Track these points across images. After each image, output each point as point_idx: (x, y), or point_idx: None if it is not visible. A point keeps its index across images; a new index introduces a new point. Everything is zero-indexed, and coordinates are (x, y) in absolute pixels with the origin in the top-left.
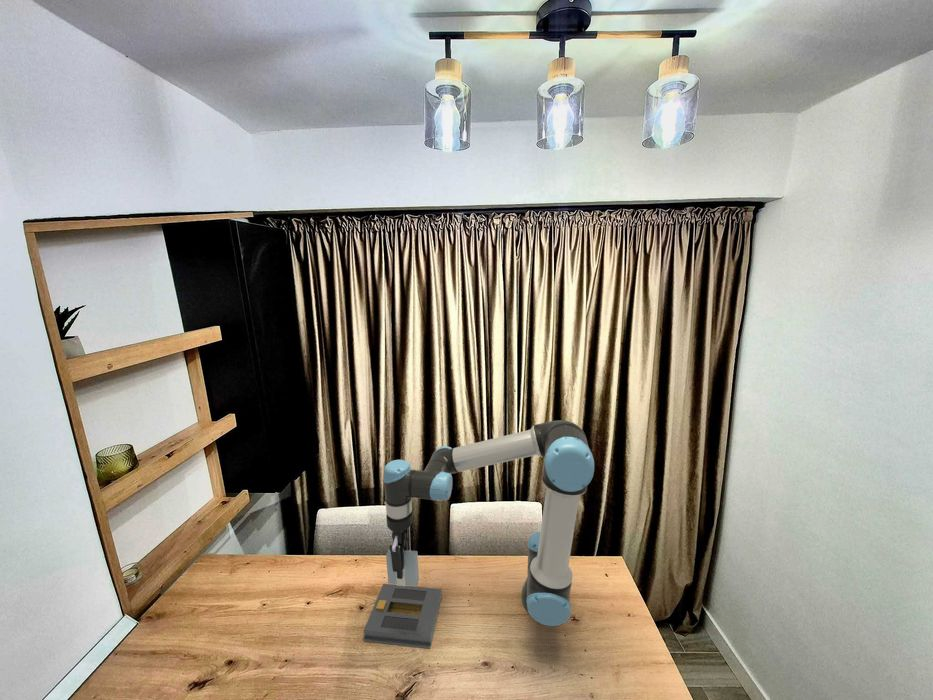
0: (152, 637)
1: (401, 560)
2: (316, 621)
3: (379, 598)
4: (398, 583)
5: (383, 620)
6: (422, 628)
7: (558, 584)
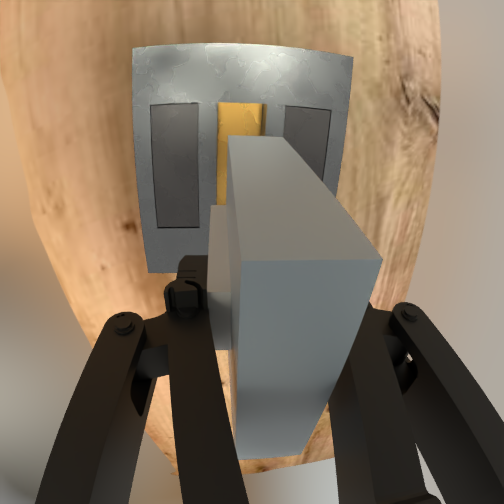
0: (288, 460)
1: (388, 372)
2: None
3: None
4: None
5: None
6: (322, 86)
7: None
